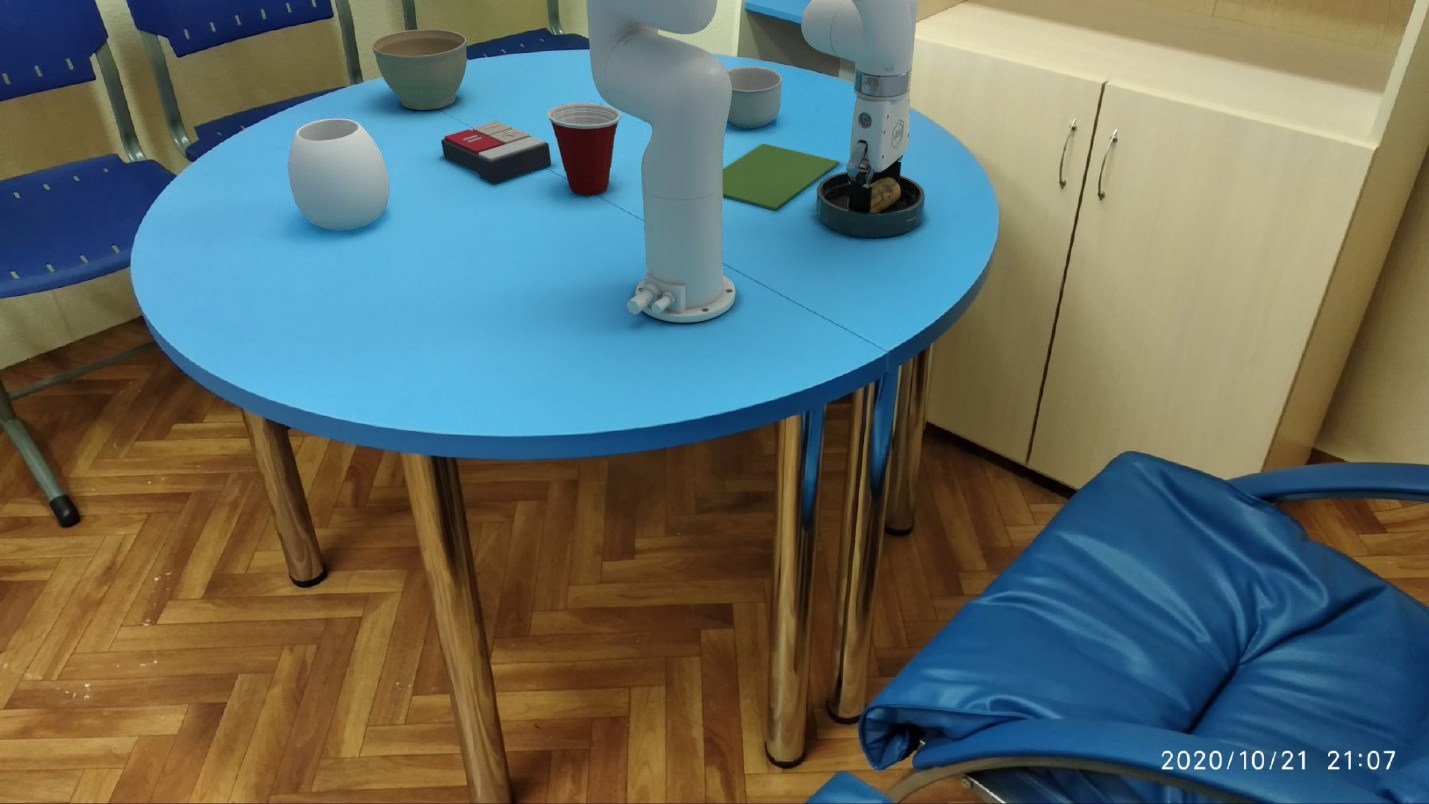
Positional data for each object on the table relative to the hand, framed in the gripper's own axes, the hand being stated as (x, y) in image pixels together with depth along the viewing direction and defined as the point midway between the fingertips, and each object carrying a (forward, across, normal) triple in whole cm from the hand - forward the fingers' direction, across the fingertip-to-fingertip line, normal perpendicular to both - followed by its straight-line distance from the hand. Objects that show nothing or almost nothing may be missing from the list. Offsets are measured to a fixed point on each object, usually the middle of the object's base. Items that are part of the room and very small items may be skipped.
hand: (874, 198), depth 151 cm
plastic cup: (+2, -15, +40) cm, 43 cm away
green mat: (+2, +3, +19) cm, 20 cm away
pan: (+2, -1, 0) cm, 2 cm away
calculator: (+2, -15, +59) cm, 61 cm away
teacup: (+3, +21, +35) cm, 41 cm away
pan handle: (0, +9, +6) cm, 11 cm away
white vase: (+1, -42, +63) cm, 76 cm away
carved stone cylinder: (+2, 0, 0) cm, 2 cm away
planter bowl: (+2, -1, +88) cm, 88 cm away
